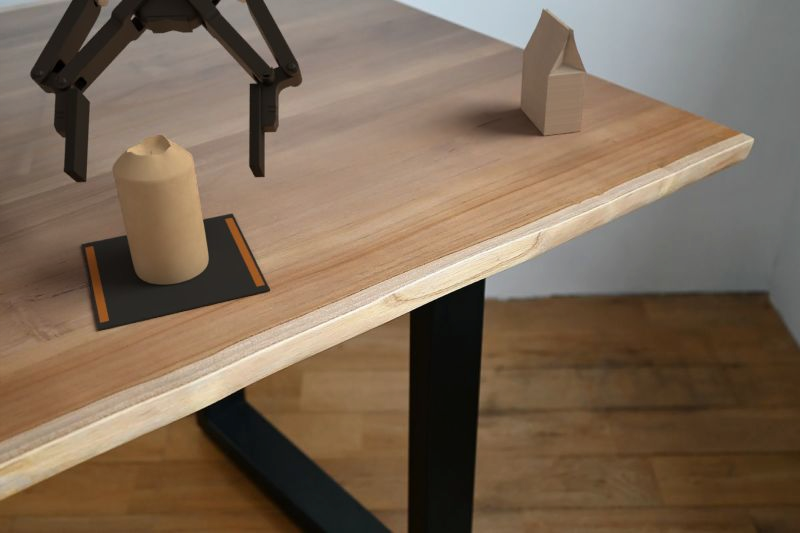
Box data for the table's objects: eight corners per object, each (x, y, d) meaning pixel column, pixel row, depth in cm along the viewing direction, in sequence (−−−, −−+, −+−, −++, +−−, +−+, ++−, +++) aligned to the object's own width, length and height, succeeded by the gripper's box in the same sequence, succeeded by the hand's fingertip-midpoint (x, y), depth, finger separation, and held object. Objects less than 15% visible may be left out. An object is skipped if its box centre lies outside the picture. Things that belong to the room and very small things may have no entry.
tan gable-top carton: (544, 135, 86) (551, 32, 81) (520, 108, 92) (525, 9, 86) (580, 131, 87) (590, 28, 81) (554, 104, 92) (562, 6, 87)
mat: (82, 245, 71) (81, 243, 71) (232, 214, 75) (232, 213, 75) (98, 330, 62) (98, 329, 62) (270, 290, 65) (269, 289, 65)
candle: (161, 241, 71) (138, 123, 66) (223, 252, 70) (204, 132, 64) (119, 278, 67) (91, 155, 61) (184, 291, 65) (161, 166, 60)
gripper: (332, -59, 76) (336, 184, 72) (34, -51, 76) (19, 193, 72) (325, -114, 69) (328, 153, 64) (-5, -105, 69) (-24, 163, 64)
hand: (166, 175), depth 68 cm, fingers open, 13 cm apart
